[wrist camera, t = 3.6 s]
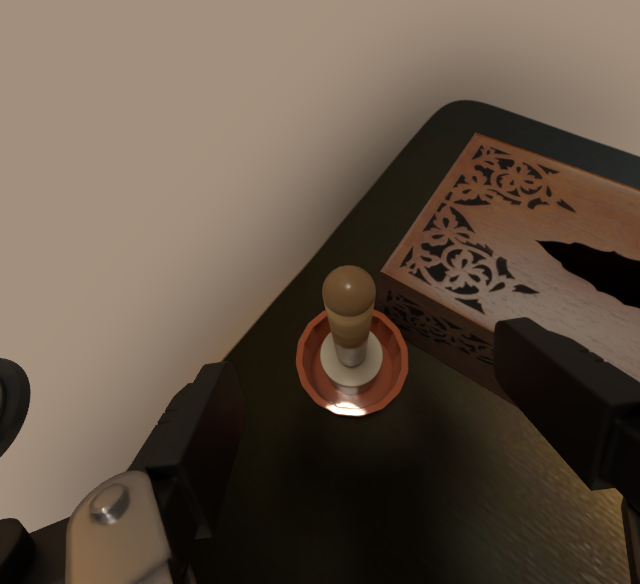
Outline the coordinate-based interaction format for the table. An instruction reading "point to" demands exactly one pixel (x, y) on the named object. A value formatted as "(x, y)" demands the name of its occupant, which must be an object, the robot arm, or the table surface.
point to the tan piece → (350, 331)
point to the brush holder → (384, 384)
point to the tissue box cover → (518, 260)
